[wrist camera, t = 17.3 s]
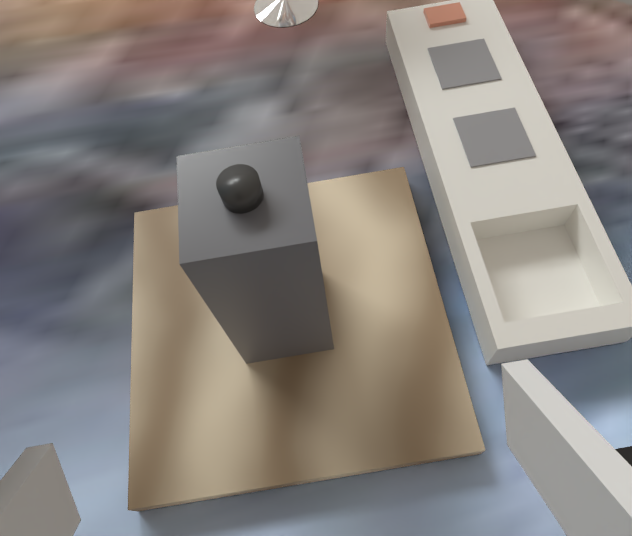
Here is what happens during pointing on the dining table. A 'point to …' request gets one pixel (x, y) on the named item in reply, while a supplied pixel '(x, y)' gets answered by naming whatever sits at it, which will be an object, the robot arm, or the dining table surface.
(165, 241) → the oak board
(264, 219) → the gray knobbed block
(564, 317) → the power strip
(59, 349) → the dining table surface
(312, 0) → the wineglass
